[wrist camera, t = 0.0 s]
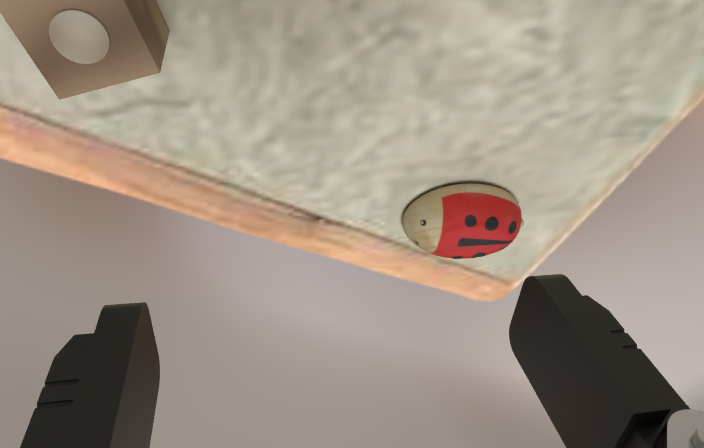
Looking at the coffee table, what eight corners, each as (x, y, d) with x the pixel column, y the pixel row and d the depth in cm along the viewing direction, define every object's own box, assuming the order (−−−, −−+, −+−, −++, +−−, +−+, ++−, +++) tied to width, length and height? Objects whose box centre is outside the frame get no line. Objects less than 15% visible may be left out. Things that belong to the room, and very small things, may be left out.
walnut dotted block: (24, -42, 25) (-14, -4, 21) (123, -70, 25) (104, -36, 21) (82, 54, 28) (58, 101, 25) (169, 30, 28) (159, 74, 25)
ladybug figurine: (407, 179, 39) (419, 211, 36) (530, 175, 40) (550, 205, 38) (394, 244, 43) (404, 276, 40) (505, 238, 45) (522, 268, 42)
